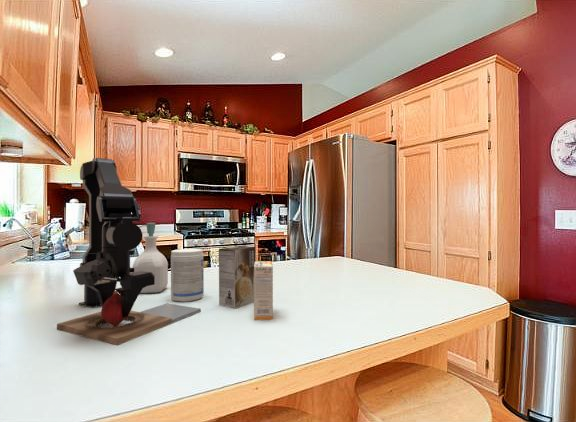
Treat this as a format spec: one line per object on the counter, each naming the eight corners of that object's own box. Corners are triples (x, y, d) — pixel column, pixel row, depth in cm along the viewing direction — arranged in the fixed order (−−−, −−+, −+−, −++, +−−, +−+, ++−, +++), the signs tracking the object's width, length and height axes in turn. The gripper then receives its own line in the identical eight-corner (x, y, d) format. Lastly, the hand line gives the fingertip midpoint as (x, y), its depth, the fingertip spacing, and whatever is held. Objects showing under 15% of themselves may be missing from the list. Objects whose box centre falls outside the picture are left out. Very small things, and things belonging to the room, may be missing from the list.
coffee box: (239, 298, 98) (239, 245, 98) (256, 301, 95) (256, 246, 95) (217, 305, 90) (218, 248, 90) (235, 309, 87) (235, 249, 87)
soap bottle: (140, 288, 112) (140, 222, 112) (169, 287, 113) (169, 222, 113) (130, 294, 102) (130, 223, 103) (161, 294, 103) (161, 223, 104)
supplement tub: (209, 298, 98) (209, 250, 98) (179, 304, 91) (179, 252, 91) (194, 292, 105) (194, 247, 105) (165, 298, 98) (165, 249, 98)
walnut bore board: (56, 329, 71) (56, 323, 71) (114, 312, 84) (114, 307, 84) (117, 345, 63) (117, 338, 63) (171, 323, 75) (171, 318, 75)
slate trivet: (129, 318, 79) (129, 315, 79) (166, 306, 89) (167, 303, 89) (165, 325, 73) (165, 322, 73) (200, 311, 84) (200, 308, 84)
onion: (135, 323, 75) (135, 289, 75) (115, 332, 70) (115, 295, 70) (116, 320, 77) (116, 287, 77) (94, 329, 71) (95, 292, 72)
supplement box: (253, 310, 86) (253, 261, 86) (271, 309, 86) (271, 260, 86) (253, 320, 77) (253, 265, 78) (273, 319, 78) (273, 265, 78)
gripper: (54, 248, 70) (53, 319, 70) (110, 252, 62) (110, 333, 62) (102, 244, 80) (102, 306, 80) (156, 247, 72) (156, 316, 72)
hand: (115, 315), depth 73 cm, fingers closed on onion, 6 cm apart
